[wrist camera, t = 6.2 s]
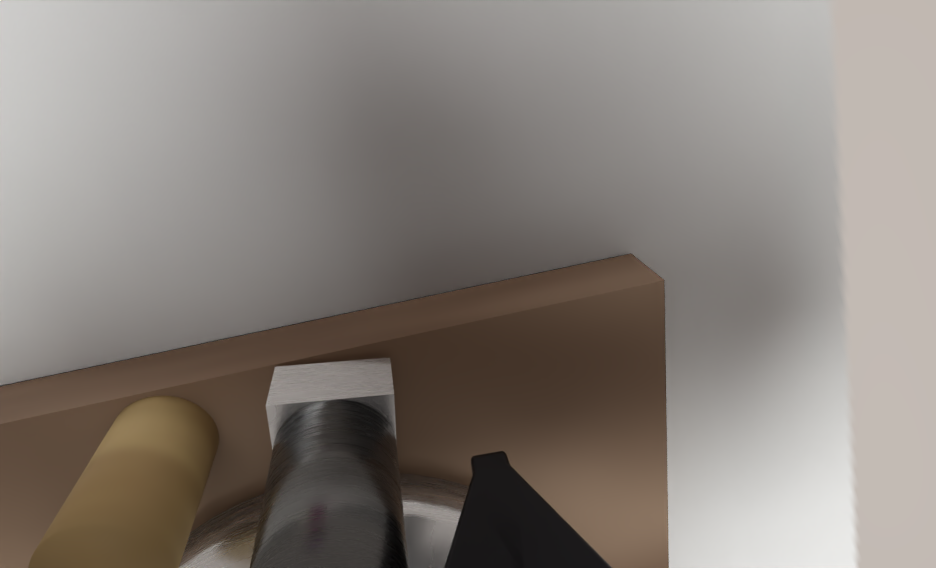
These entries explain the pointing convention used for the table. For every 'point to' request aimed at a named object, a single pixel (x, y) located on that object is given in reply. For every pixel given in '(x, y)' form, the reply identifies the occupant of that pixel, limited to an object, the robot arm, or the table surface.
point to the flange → (333, 483)
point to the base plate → (416, 415)
